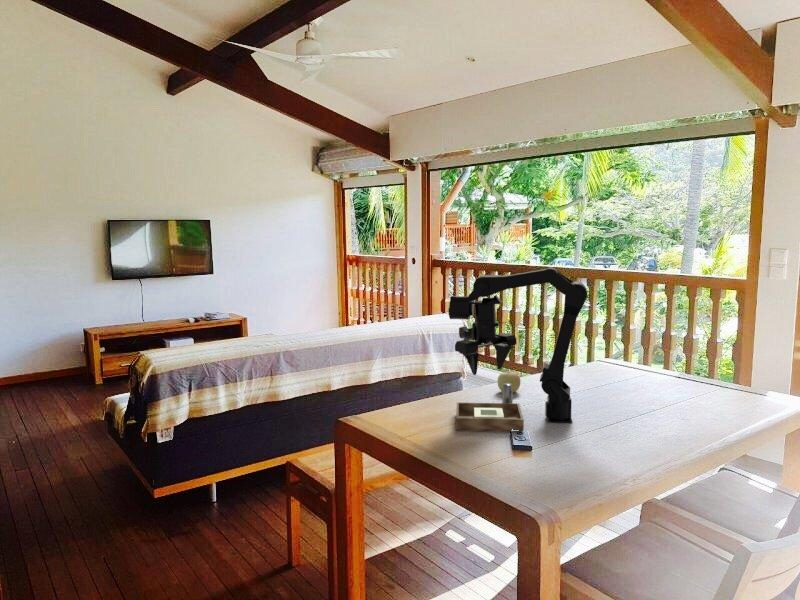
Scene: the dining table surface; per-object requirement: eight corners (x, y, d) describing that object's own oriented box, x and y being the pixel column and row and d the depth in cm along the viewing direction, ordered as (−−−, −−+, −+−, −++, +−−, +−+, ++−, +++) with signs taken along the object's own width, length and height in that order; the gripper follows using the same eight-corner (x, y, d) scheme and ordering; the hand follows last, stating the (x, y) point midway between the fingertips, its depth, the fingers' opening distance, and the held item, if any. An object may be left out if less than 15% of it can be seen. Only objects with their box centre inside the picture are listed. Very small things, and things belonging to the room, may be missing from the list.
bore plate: (502, 416, 171) (502, 408, 171) (503, 425, 163) (504, 417, 163) (474, 415, 172) (474, 407, 172) (474, 425, 164) (474, 416, 164)
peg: (512, 408, 179) (512, 383, 178) (512, 412, 176) (513, 385, 175) (501, 408, 180) (502, 382, 178) (502, 411, 177) (502, 385, 176)
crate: (518, 414, 174) (518, 403, 173) (523, 432, 160) (523, 419, 159) (456, 413, 176) (456, 402, 175) (456, 430, 162) (456, 418, 161)
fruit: (515, 396, 191) (515, 372, 190) (494, 393, 195) (494, 369, 194) (524, 390, 198) (524, 367, 197) (503, 387, 202) (503, 364, 200)
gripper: (492, 312, 183) (493, 362, 185) (442, 320, 174) (444, 372, 176) (517, 316, 174) (518, 368, 176) (466, 324, 164) (467, 379, 166)
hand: (486, 372), depth 174 cm, fingers open, 9 cm apart
